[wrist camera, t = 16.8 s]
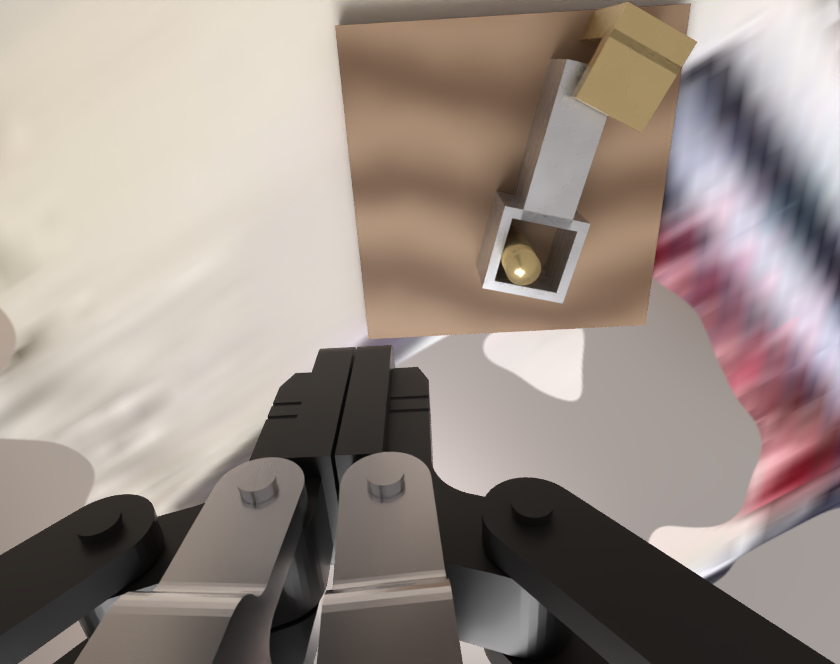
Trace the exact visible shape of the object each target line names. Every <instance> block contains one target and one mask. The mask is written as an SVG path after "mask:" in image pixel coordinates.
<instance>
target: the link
mask: <svg viewBox="0 0 840 664" xmlns="http://www.w3.org/2000/svg"><path fill="white" fill-rule="evenodd" d="M587 66H588V64H586V63H582V62H577V61H573V60H569V59H550V62H549V66H548V69H547V73H546V77H545V80H544V84H543V87H542V91H541V94H540V98H539V102H538V105H537V109H536V112H535V116H534V120H533V123H532V127H531V130H530V134H529V138H528V141H527V145H526V148H525V152H524V155H523V159H522V163H521V166H520V170H519V173H518V177H517V181H516V184H515V188H514V191H513V194H508V193H503V192H498V191H496V193H495V197H494V201H493V205H492V209H491V212H490V216H489V220H488V224H487V227H486V231H485V235H484V239H483V243H482V246H481V250H480V254H479V258H478V261H477V265H476V267H477V271H478V274H479V278H480V281H481V285H482V288H484V289H490V290H495V291H500V292H505V293H510V294H516V295H521V296H526V297H531V298H537V299H542V300H547V301H552V302H557V303H563V301H564V298H565V296H566V293H567V290H568V287H569V284H570V281H571V278H572V275H573V273H574V270H575V267H576V264H577V261H578V258H579V255H580V253H581V250H582V247H583V244H584V241H585V238H586V235H587V233H588V230H589V227H590V223H589V222H588V221H587V220H586V219H585V218H584V217H583V216H582V215H581V214H580V213H579V212H578V211H577V210H576V209H577V206H578V203H579V200H580V197H581V194H582V191H583V188H584V185H585V182H586V179H587V176H588V173H589V170H590V167H591V164H592V161H593V158H594V155H595V152H596V149H597V146H598V143H599V140H600V137H601V134H602V131H603V128H604V125H605V122H606V119H607V115H605V114H603V113H601V112H599V111H598V110H596V109H594V108H592V107H590V106H588V105H586V104H585V103H583V102H581V101H579V100H577V99H575V98H573V97H571V96H572V94H573V92H574V90H575V88H576V87H577V85H578V83H579V81H580V79H581V77H582V75H583V74H584V72H585V70H586V68H587ZM512 218H514V219H519V220H524V221H528V222H533V223H538V224H543V225H548V226H553V227H557V230H556V233H555V236H554V239H553V242H552V246H551V249H550V252H549V255H548V258H547V261H546V264H545V267H544V270H543V271H542V270H541V272H540V275H539V277H538V278H537V279H536V280H535V281H534V282H532V283H531V284H528V285H523V286H521V285H516V284H514V283H512V282H511V281H510V280H509V279H508V277H507V275H506V272H505V270H504V267H503V265H502V263H501V262H500V259H501V256H502V252H503V249H504V245H505V242H506V238H507V235H508V231H509V228H510V224H511V221H512Z"/></svg>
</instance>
